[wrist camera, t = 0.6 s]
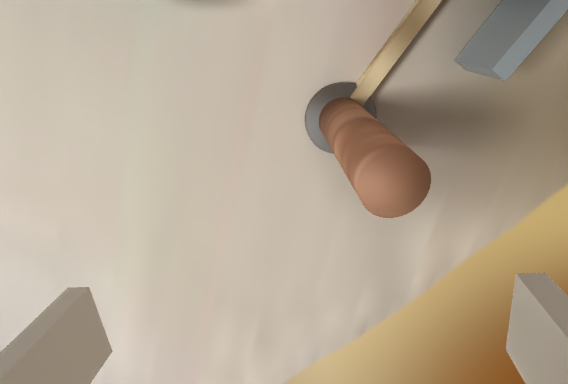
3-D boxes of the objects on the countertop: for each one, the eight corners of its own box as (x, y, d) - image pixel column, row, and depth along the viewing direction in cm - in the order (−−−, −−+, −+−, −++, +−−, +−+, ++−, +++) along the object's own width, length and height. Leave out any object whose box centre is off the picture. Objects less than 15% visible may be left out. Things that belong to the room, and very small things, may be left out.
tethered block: (350, 166, 29) (406, 255, 18) (285, 124, 27) (307, 197, 16) (559, -101, 22) (833, -200, 12) (493, -180, 20) (747, -380, 10)
